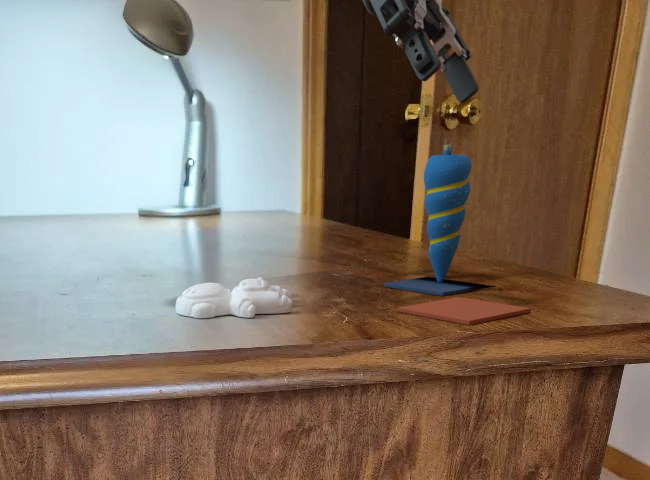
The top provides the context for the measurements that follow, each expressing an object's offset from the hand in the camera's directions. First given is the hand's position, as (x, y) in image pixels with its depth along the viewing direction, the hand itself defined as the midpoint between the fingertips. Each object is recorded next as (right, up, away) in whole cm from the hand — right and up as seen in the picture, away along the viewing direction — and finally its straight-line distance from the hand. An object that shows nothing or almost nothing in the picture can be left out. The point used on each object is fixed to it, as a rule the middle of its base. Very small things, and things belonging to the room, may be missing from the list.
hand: (451, 86), depth 77 cm
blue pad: (+2, -15, +15) cm, 21 cm away
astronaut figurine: (-21, -21, +4) cm, 30 cm away
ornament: (+2, -14, +15) cm, 21 cm away
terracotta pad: (+1, -22, +1) cm, 22 cm away
